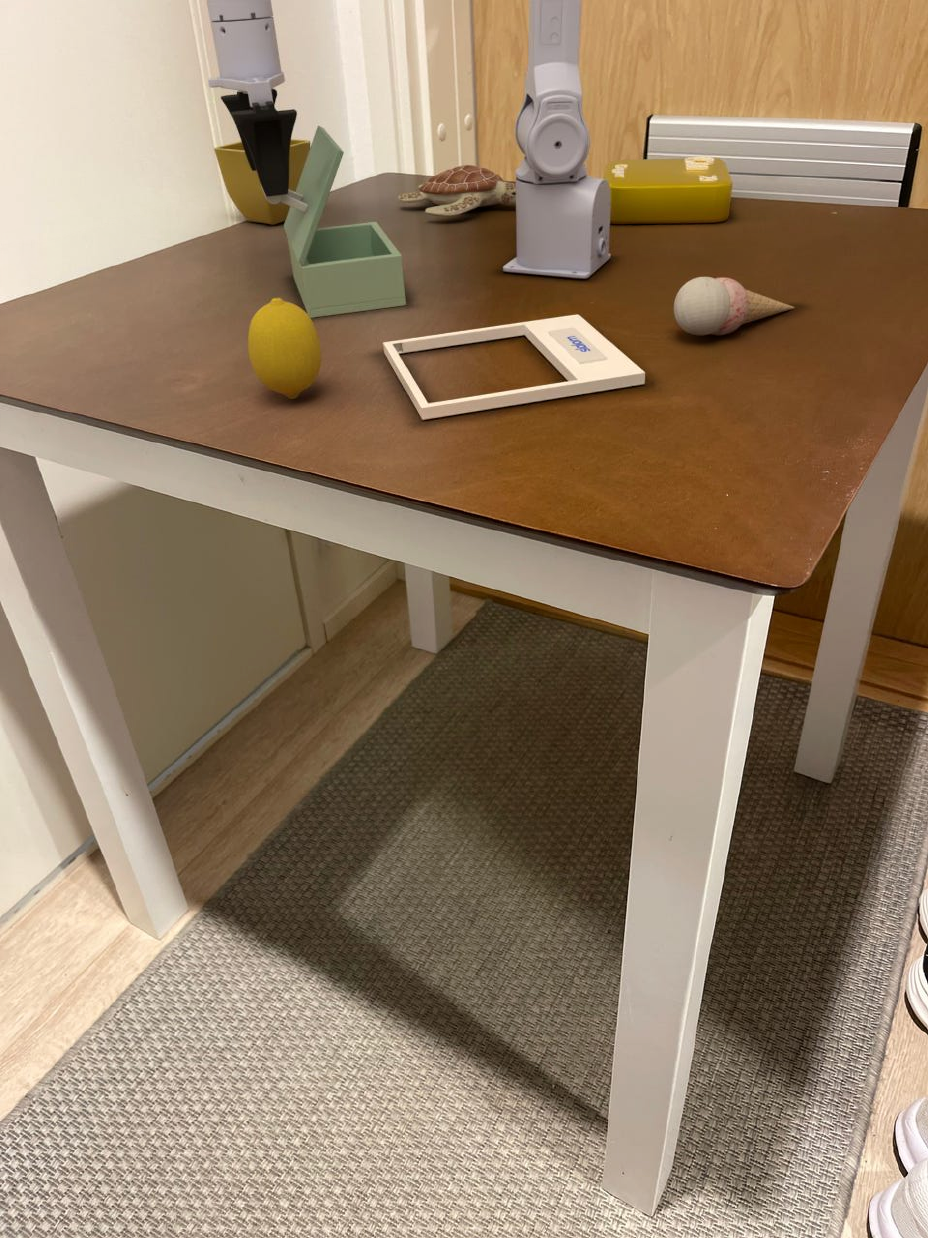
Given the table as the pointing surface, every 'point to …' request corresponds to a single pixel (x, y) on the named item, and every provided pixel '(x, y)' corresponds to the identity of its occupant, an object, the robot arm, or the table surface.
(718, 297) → the ice cream cone
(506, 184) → the decorative turtle
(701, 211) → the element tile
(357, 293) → the cool box
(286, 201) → the cool box lid
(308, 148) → the flower pot
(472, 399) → the photo frame
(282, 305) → the lemon
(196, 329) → the table surface
